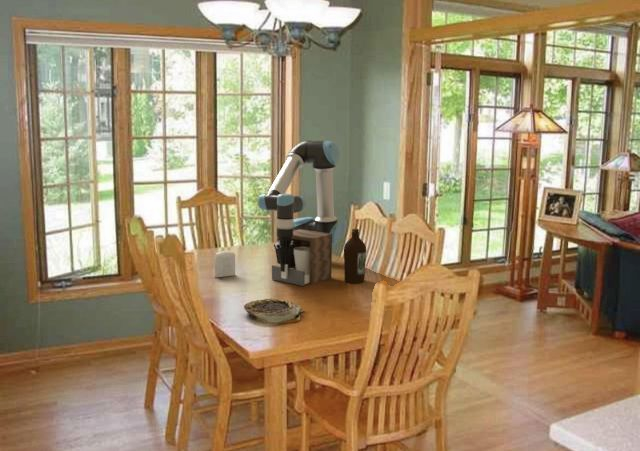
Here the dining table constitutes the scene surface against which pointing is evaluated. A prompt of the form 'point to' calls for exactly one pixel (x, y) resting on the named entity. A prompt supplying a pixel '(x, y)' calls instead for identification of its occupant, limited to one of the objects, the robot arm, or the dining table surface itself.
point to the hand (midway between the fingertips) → (284, 278)
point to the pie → (272, 310)
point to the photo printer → (224, 264)
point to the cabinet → (315, 253)
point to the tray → (291, 276)
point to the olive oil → (354, 259)
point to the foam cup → (302, 259)
